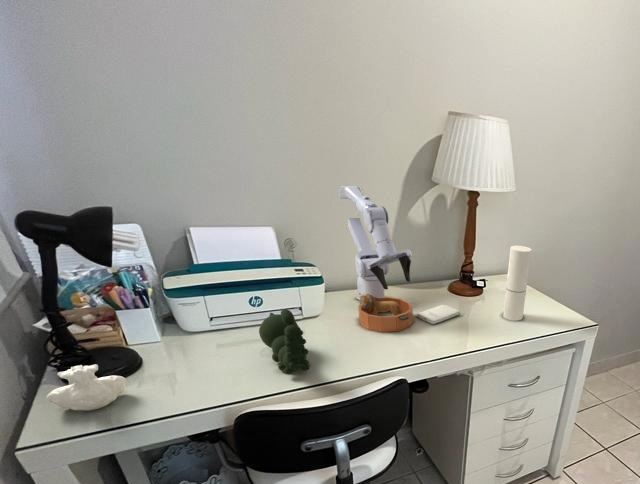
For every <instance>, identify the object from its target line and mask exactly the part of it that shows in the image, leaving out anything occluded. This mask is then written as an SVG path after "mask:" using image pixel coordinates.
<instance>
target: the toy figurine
mask: <svg viewBox="0 0 640 484" xmlns="http://www.w3.org/2000/svg"><path fill="white" fill-rule="evenodd" d="M258 334H259V337H260V339H261V341H262V343H263V344H264V345H265V346H267V347H268V348H269V349H271V351H272V355H271V359H272V361H273V362H275V363H279V364H278V365H277V366H278V367H277V368H278V370H279V371H282V372H283V371H284V374H285V375H288V376H290V375H293V373H294V372H295V371H296V370H300V369H301V371H303V372H307V371H309V370H310V367H311V366H310V361H309V360H308V359H307V355H308V354H309V350H308V349H307V348H306V347H305V345H306V343H307V339H305V338H304V337H303V335H304V331H303V330H302V329H301V328H300V327H299V324H298V323H297V321H296V317H295V316H294V314H293V313H292V311H291V310H290V309H288V308H284V309H281V311H280V314H275V313H273V312H270V313H269V316H267V317H266V318H265V319H264V320H263V321H262V322H261V323H260V326H259V328H258Z"/></svg>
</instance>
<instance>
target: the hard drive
mask: <svg viewBox="0 0 640 484" xmlns="http://www.w3.org/2000/svg"><path fill="white" fill-rule="evenodd" d="M459 315H460V311H459V310H458V309H455V308H453V307H451V306H448V305H446V304H441V305H437V306H434V307H433V308H429V309H427V310H426V309H425V310H423V311H421V312H418V313H417V314H416V317H417V318H419V319H420V320H422V321H424V322H427V323H429V324H431V325H435V324H438V323H441V322H443V321H446V320H449V319H451V318H454V317H457V316H459Z"/></svg>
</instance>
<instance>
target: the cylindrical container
mask: <svg viewBox="0 0 640 484" xmlns="http://www.w3.org/2000/svg"><path fill="white" fill-rule="evenodd" d="M531 257H532V248H531V247H528V246H525V245H511V246H510V248H509V256H508V266H507V267H508V268H507V275H506V276H507V277H506V285H505V296H504V304H503V314H502V315H503V316H502V317H503V318H504V319H505V320H508V321H513V322H514V321H515V322H516V321H517V322H518V321H521V320H522V319H523V318H524V310H525V309H524V308H525V302H526V294H527V286H528V279H529V273H530V266H531V265H530V263H531Z"/></svg>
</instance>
